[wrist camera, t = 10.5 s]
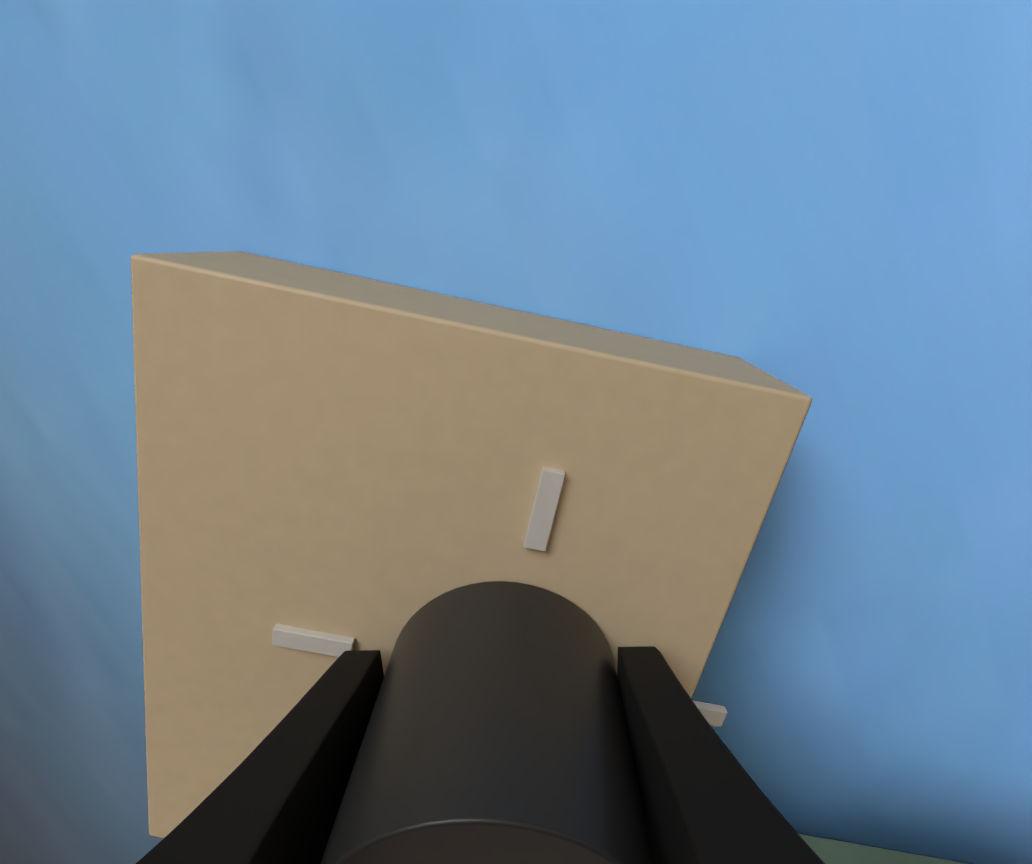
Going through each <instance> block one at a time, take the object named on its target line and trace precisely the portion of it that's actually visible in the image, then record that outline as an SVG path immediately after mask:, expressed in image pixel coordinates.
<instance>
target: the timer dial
mask: <svg viewBox="0 0 1032 864" xmlns="http://www.w3.org/2000/svg"><path fill="white" fill-rule="evenodd" d="M320 864H654V862H653V857H652V852H651V847H650V842H649V837H648V832H647V827H646V821H645V816H644V811H643V806H642V801H641V796H640V791H639V786H638V781H637V776H636V771H635V766H634V761H633V756H632V750H631V745H630V740H629V735H628V730H627V725H626V720H625V715H624V710H623V705H622V700H621V695H620V690H619V685H618V679H617V674H616V669H615V664H614V659H613V655H612V652H611V649H610V646H609V644H608V642H607V640H606V638H605V636H604V634H603V632H602V631H601V630H600V628H599V627H598V626H597V624H596V623H595V622H594V621H593V620H592V619H591V618H590V617H589V616H588V615H587V614H586V613H585V612H584V611H583V610H582V609H580V608H579V607H578V606H577V605H575V604H574V603H573V602H571V601H569V600H568V599H566V598H564V597H562V596H561V595H558V594H556V593H554V592H552V591H549V590H547V589H544V588H541V587H537V586H534V585H530V584H524V583H519V582H508V581H490V582H481V583H474V584H469V585H466V586H462V587H458V588H455V589H453V590H450V591H448V592H446V593H443V594H441V595H440V596H438V597H436V598H434V599H433V600H431V601H430V602H428V603H427V604H426V605H424V606H423V607H422V608H420V609H419V610H418V611H417V612H416V613H415V614H414V615H413V616H412V617H411V618H410V619H409V621H408V622H407V623H406V625H405V626H404V627H403V629H402V630H401V632H400V634H399V636H398V638H397V640H396V643H395V646H394V649H393V652H392V655H391V658H390V661H389V664H388V667H387V669H386V672H385V675H384V678H383V681H382V684H381V687H380V690H379V693H378V696H377V699H376V702H375V705H374V708H373V711H372V713H371V716H370V719H369V722H368V725H367V728H366V731H365V734H364V737H363V740H362V743H361V746H360V749H359V752H358V755H357V757H356V760H355V763H354V766H353V769H352V772H351V775H350V778H349V781H348V784H347V787H346V790H345V793H344V796H343V799H342V801H341V804H340V807H339V810H338V813H337V816H336V819H335V822H334V825H333V828H332V831H331V834H330V837H329V840H328V842H327V845H326V848H325V851H324V854H323V857H322V860H321V863H320Z"/></svg>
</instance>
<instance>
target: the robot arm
mask: <svg viewBox="0 0 1032 864" xmlns="http://www.w3.org/2000/svg"><path fill="white" fill-rule="evenodd" d="M383 678H384V672H383V666H382V659H381V653H380V650H357V651H344V652H343V653H342V654H341V655H340V656H339V658H338V659H337V660H336V661H335V662H334V663H333V664H332V665H331V666H330V667H329V668H328V669H327V671H326V672H325V673H324V674H323V675H322V676H321V677H320V678H319V680H318V681H317V682H316V683H315V684H314V685H313V686H312V687H311V688H310V690H309V691H308V692H307V693H306V694H305V695H304V696H303V697H302V698H301V700H300V701H299V702H298V703H297V704H296V705H295V706H294V707H293V708H292V709H291V711H290V712H289V713H288V714H287V715H286V716H285V717H284V718H283V719H282V720H281V721H280V723H279V724H278V725H277V726H276V727H275V728H274V729H273V730H272V731H271V732H270V733H269V734H268V735H267V736H266V737H265V738H264V740H263V741H262V742H261V743H260V744H259V745H258V746H257V747H256V748H255V749H254V750H253V751H252V752H251V753H250V754H249V755H248V756H247V758H246V759H245V760H244V761H243V762H242V763H241V764H240V765H239V766H238V767H237V768H236V769H235V770H234V771H233V772H232V773H231V774H230V775H229V776H228V777H227V778H226V779H225V780H224V781H223V782H222V783H221V784H220V785H219V786H218V787H217V788H216V789H215V790H214V791H213V792H212V793H211V794H210V795H209V796H208V797H206V798H205V799H204V800H203V801H202V802H201V803H200V804H199V805H198V806H197V807H196V808H195V809H194V810H193V811H192V812H191V813H190V814H189V815H188V816H187V817H186V818H185V819H184V820H183V821H182V822H181V823H180V824H179V825H178V826H177V827H176V828H174V829H173V830H172V831H171V832H170V833H169V834H168V835H167V836H166V837H165V838H164V839H163V840H162V841H161V842H159V843H158V844H157V845H156V846H155V847H154V848H153V849H152V850H151V851H150V852H148V853H147V854H146V855H145V856H144V857H143V858H142V859H141V860H140V861H138V862H137V863H136V864H320V863H321V860H322V857H323V854H324V851H325V848H326V845H327V842H328V840H329V837H330V834H331V831H332V828H333V825H334V822H335V819H336V816H337V813H338V810H339V807H340V804H341V801H342V799H343V796H344V793H345V790H346V787H347V784H348V781H349V778H350V775H351V772H352V769H353V766H354V763H355V760H356V757H357V755H358V752H359V749H360V746H361V743H362V740H363V737H364V734H365V731H366V728H367V725H368V722H369V719H370V716H371V713H372V711H373V708H374V705H375V702H376V699H377V696H378V693H379V690H380V687H381V684H382V681H383ZM617 679H618V685H619V690H620V695H621V700H622V705H623V710H624V715H625V720H626V725H627V730H628V735H629V740H630V745H631V750H632V756H633V761H634V766H635V771H636V776H637V781H638V786H639V791H640V796H641V801H642V806H643V811H644V816H645V821H646V827H647V832H648V837H649V842H650V847H651V852H652V857H653V862H654V864H825V863H824V862H823V861H822V860H821V859H820V858H819V856H818V855H817V854H816V853H815V852H814V851H813V850H812V849H811V848H810V847H809V845H808V844H807V843H806V842H805V841H804V840H803V839H802V838H801V836H800V835H799V834H798V833H797V832H796V831H795V830H794V828H793V827H792V826H791V825H790V824H789V823H788V822H787V820H786V819H785V818H784V817H783V816H782V814H781V813H780V812H779V811H778V810H777V809H776V807H775V806H774V805H773V804H772V803H771V802H770V800H769V799H768V798H767V797H766V796H765V794H764V793H763V792H762V791H761V790H760V788H759V787H758V786H757V785H756V783H755V782H754V781H753V780H752V779H751V777H750V776H749V775H748V774H747V772H746V771H745V770H744V769H743V767H742V766H741V765H740V763H739V762H738V761H737V760H736V758H735V757H734V756H733V754H732V753H731V752H730V751H729V749H728V748H727V747H726V745H725V744H724V743H723V741H722V740H721V739H720V738H719V736H718V735H717V734H716V732H715V731H714V730H713V728H712V727H711V726H710V724H709V723H708V722H707V720H706V719H705V717H704V716H703V715H702V713H701V712H700V710H699V709H698V708H697V706H696V705H695V703H694V702H693V701H692V699H691V698H690V696H689V695H688V693H687V692H686V690H685V689H684V688H683V686H682V685H681V683H680V682H679V680H678V679H677V677H676V676H675V674H674V673H673V671H672V669H671V668H670V666H669V665H668V663H667V662H666V660H665V658H664V657H663V655H662V653H661V652H660V651H659V650H658V649H657V648H656V647H655V646H636V647H618V659H617Z"/></svg>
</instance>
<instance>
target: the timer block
mask: <svg viewBox="0 0 1032 864" xmlns="http://www.w3.org/2000/svg"><path fill="white" fill-rule="evenodd" d="M131 279H132V310H133V342H134V373H135V405H136V437H137V468H138V500H139V532H140V563H141V595H142V626H143V658H144V690H145V721H146V753H147V785H148V816H149V834H150V835H151V836H154V837H160V838H165V837H166V836H167V835H168V834H169V833H170V832H171V831H172V830H173V829H174V828H176V827H177V826H178V825H179V824H180V823H181V822H182V821H183V820H184V819H185V818H186V817H187V816H188V815H189V814H190V813H191V812H192V811H193V810H194V809H195V808H196V807H197V806H198V805H199V804H200V803H201V802H202V801H203V800H204V799H205V798H206V797H208V796H209V795H210V794H211V793H212V792H213V791H214V790H215V789H216V788H217V787H218V786H219V785H220V784H221V783H222V782H223V781H224V780H225V779H226V778H227V777H228V776H229V775H230V774H231V773H232V772H233V771H234V770H235V769H236V768H237V767H238V766H239V765H240V764H241V763H242V762H243V761H244V760H245V759H246V758H247V756H248V755H249V754H250V753H251V752H252V751H253V750H254V749H255V748H256V747H257V746H258V745H259V744H260V743H261V742H262V741H263V740H264V738H265V737H266V736H267V735H268V734H269V733H270V732H271V731H272V730H273V729H274V728H275V727H276V726H277V725H278V724H279V723H280V721H281V720H282V719H283V718H284V717H285V716H286V715H287V714H288V713H289V712H290V711H291V709H292V708H293V707H294V706H295V705H296V704H297V703H298V702H299V701H300V700H301V698H302V697H303V696H304V695H305V694H306V693H307V692H308V691H309V690H310V688H311V687H312V686H313V685H314V684H315V683H316V682H317V681H318V680H319V678H320V677H321V676H322V675H323V674H324V673H325V672H326V671H327V669H328V668H329V667H330V666H331V665H332V664H333V663H334V662H335V661H336V660H337V659H338V658H339V656H340V655H341V654H342V653H343V652H344V651H357V650H380V653H381V659H382V666H383V672H384V675H385V672H386V669H387V667H388V664H389V661H390V658H391V655H392V652H393V649H394V646H395V643H396V640H397V638H398V636H399V634H400V632H401V630H402V629H403V627H404V626H405V625H406V623H407V622H408V621H409V619H410V618H411V617H412V616H413V615H414V614H415V613H416V612H417V611H418V610H419V609H420V608H422V607H423V606H424V605H426V604H427V603H428V602H430V601H431V600H433V599H434V598H436V597H438V596H440V595H441V594H443V593H446V592H448V591H450V590H453V589H455V588H458V587H462V586H466V585H469V584H474V583H481V582H490V581H508V582H519V583H524V584H530V585H534V586H537V587H541V588H544V589H547V590H549V591H552V592H554V593H556V594H558V595H561V596H562V597H564V598H566V599H568V600H569V601H571V602H573V603H574V604H575V605H577V606H578V607H579V608H580V609H582V610H583V611H584V612H585V613H586V614H587V615H588V616H589V617H590V618H591V619H592V620H593V621H594V622H595V623H596V624H597V626H598V627H599V628H600V630H601V631H602V632H603V634H604V636H605V638H606V640H607V642H608V644H609V646H610V649H611V652H612V655H613V659H614V664H615V669H616V674H617V659H618V647H636V646H655V647H656V648H657V649H658V650H659V651H660V652H661V653H662V655H663V657H664V658H665V660H666V662H667V663H668V665H669V666H670V668H671V669H672V671H673V673H674V674H675V676H676V677H677V679H678V680H679V682H680V683H681V685H682V686H683V688H684V689H685V690H686V692H687V693H688V695H689V696H690V698H691V699H692V697H693V694H694V692H695V689H696V687H697V684H698V682H699V679H700V677H701V674H702V672H703V669H704V667H705V664H706V662H707V659H708V657H709V655H710V652H711V650H712V647H713V645H714V642H715V640H716V637H717V635H718V632H719V630H720V627H721V625H722V622H723V620H724V617H725V615H726V613H727V610H728V608H729V605H730V603H731V600H732V598H733V595H734V593H735V590H736V588H737V585H738V583H739V580H740V578H741V576H742V573H743V571H744V568H745V566H746V563H747V561H748V558H749V556H750V553H751V551H752V548H753V546H754V543H755V541H756V538H757V536H758V534H759V531H760V529H761V526H762V524H763V521H764V519H765V516H766V514H767V511H768V509H769V506H770V504H771V501H772V499H773V497H774V494H775V492H776V489H777V487H778V484H779V482H780V479H781V477H782V474H783V472H784V469H785V467H786V464H787V462H788V459H789V457H790V455H791V452H792V450H793V447H794V445H795V442H796V440H797V437H798V435H799V432H800V430H801V427H802V425H803V422H804V420H805V418H806V415H807V413H808V410H809V408H810V405H811V403H812V398H811V397H810V396H808V395H806V394H805V393H803V392H801V391H799V390H797V389H795V388H794V387H792V386H790V385H788V384H786V383H784V382H783V381H781V380H779V379H777V378H775V377H774V376H772V375H770V374H768V373H766V372H764V371H763V370H761V369H759V368H757V367H755V366H753V365H752V364H750V363H748V362H746V361H744V360H742V359H741V358H739V357H735V356H730V355H725V354H720V353H716V352H711V351H706V350H702V349H697V348H692V347H688V346H683V345H678V344H673V343H669V342H664V341H659V340H655V339H650V338H645V337H641V336H636V335H631V334H627V333H622V332H617V331H612V330H608V329H603V328H598V327H594V326H589V325H584V324H580V323H575V322H570V321H565V320H561V319H556V318H551V317H547V316H542V315H537V314H533V313H528V312H523V311H518V310H514V309H509V308H504V307H500V306H495V305H490V304H486V303H481V302H476V301H472V300H467V299H462V298H457V297H453V296H448V295H443V294H439V293H434V292H429V291H425V290H420V289H415V288H410V287H406V286H401V285H396V284H392V283H387V282H382V281H378V280H373V279H368V278H363V277H359V276H354V275H349V274H345V273H340V272H335V271H331V270H326V269H321V268H317V267H312V266H307V265H302V264H298V263H293V262H288V261H284V260H279V259H274V258H270V257H265V256H260V255H255V254H251V253H246V252H241V251H234V252H195V253H156V254H135V255H133V256H132V257H131ZM692 701H693V702H694V703H695V705H696V706H697V708H698V709H699V710H700V712H701V713H702V715H703V716H704V717H705V719H706V720H707V722H708V723H709V724H710V725H711V726H717V727H722V724H723V722H724V720H725V717H726V715H727V711H726V708H725V706H721V705H715V704H710V703H704V702H699V701H694V700H692Z"/></svg>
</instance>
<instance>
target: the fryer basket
mask: <svg viewBox="0 0 1032 864" xmlns="http://www.w3.org/2000/svg"><path fill="white" fill-rule="evenodd" d="M799 835H800V836H801V838H802V839H803V840H804V841H805V842H806V843H807V844H808V845H809V847H810V848H811V849H812V850H813V851H814V852H815V853H816V854H817V855H818V856H819V858H820V859H821V860H822V861H823V862H824V863H825V864H969V863H963V862H957V861H952V860H946V859H940V858H935V857H929V856H923V855H918V854H912V853H906V852H901V851H895V850H889V849H883V848H878V847H872V846H866V845H861V844H855V843H849V842H844V841H838V840H832V839H827V838H821V837H815V836H810V835H804V834H799Z"/></svg>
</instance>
